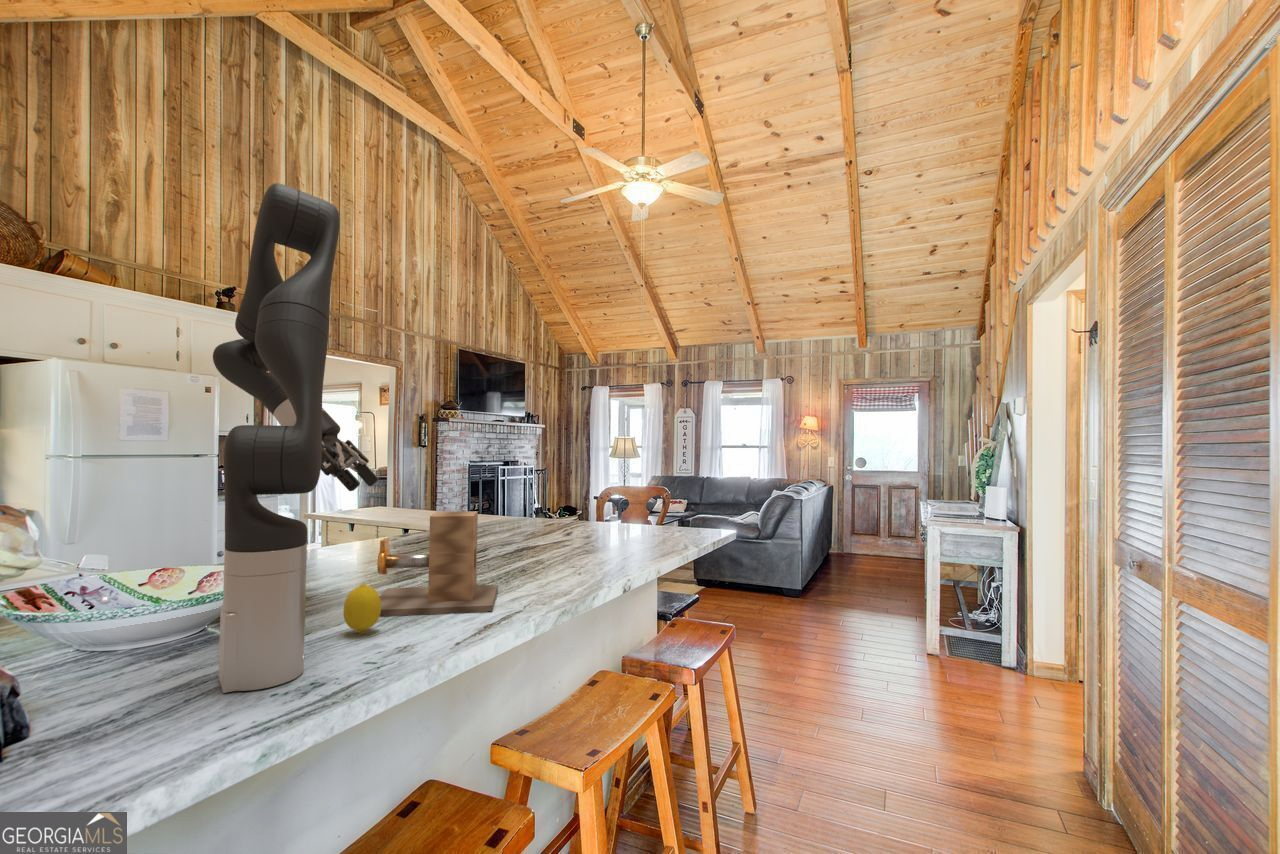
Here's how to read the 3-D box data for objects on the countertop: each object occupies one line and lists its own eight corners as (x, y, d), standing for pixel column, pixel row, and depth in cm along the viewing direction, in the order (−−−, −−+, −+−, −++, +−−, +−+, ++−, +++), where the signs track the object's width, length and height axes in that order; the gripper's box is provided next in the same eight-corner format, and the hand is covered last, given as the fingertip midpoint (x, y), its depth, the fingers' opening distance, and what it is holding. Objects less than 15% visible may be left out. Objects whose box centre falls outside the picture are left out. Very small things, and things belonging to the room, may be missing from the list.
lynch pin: (377, 577, 109) (377, 541, 110) (383, 571, 114) (384, 537, 114) (446, 575, 112) (447, 540, 112) (450, 569, 116) (450, 536, 116)
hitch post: (365, 617, 104) (367, 520, 104) (387, 594, 119) (389, 510, 120) (492, 611, 107) (493, 518, 108) (497, 590, 123) (499, 508, 124)
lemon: (370, 639, 92) (371, 588, 92) (335, 638, 92) (337, 587, 92) (386, 628, 98) (387, 580, 98) (353, 627, 98) (355, 579, 98)
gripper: (302, 408, 103) (364, 476, 104) (339, 409, 118) (394, 469, 118) (270, 436, 103) (333, 504, 104) (311, 434, 117) (366, 494, 118)
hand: (365, 485), depth 111 cm, fingers open, 8 cm apart
